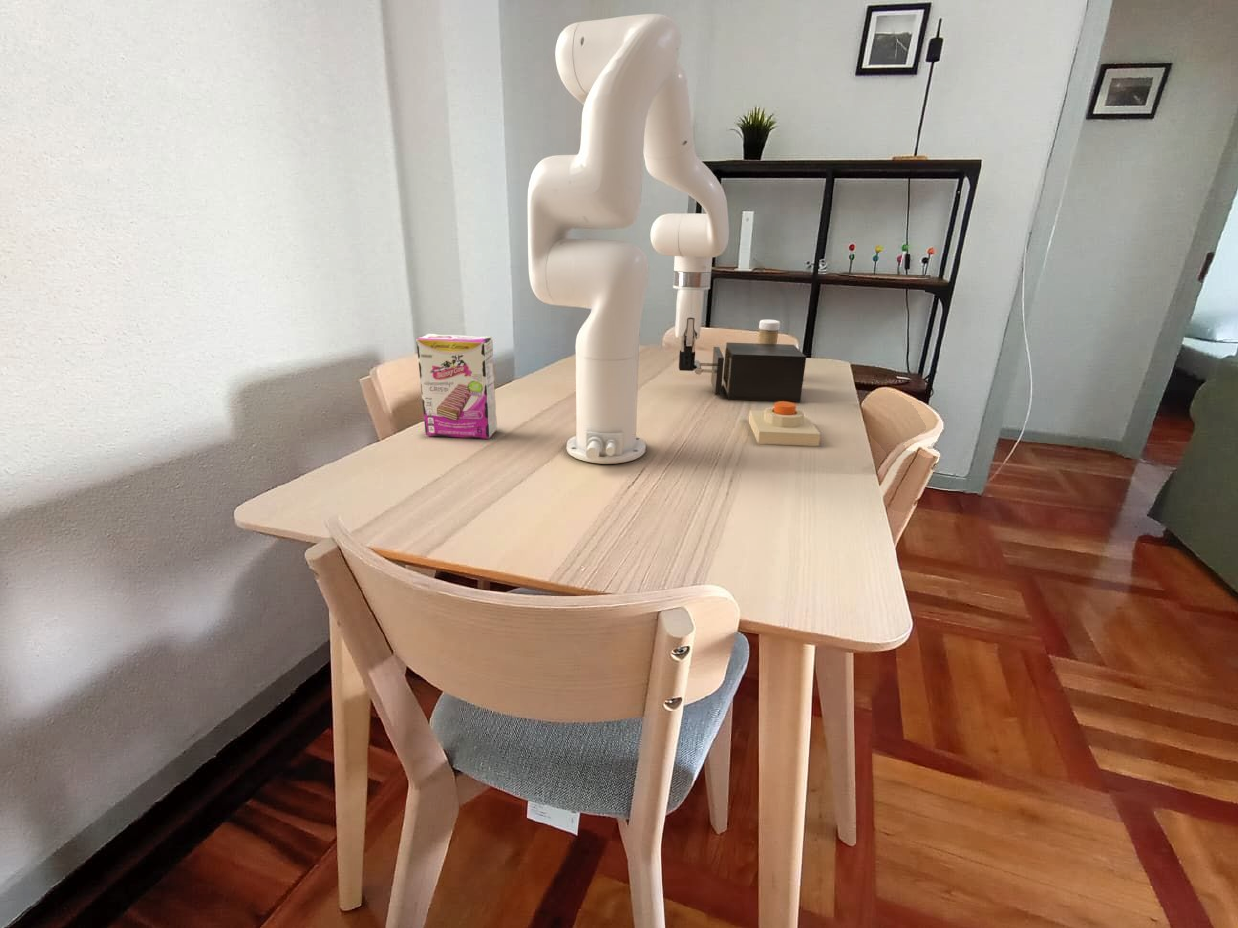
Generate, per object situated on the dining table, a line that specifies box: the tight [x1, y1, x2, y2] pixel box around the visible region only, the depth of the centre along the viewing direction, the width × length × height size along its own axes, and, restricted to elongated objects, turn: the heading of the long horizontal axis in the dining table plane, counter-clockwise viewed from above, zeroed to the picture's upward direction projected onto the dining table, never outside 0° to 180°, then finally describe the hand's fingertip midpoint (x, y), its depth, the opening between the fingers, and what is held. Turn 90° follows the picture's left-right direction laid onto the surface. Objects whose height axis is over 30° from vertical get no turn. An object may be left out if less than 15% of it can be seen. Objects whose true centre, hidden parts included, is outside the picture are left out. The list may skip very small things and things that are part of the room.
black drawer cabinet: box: [722, 342, 807, 404], centre depth 129 cm, size 15×13×10 cm
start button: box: [773, 401, 797, 415], centre depth 105 cm, size 4×4×2 cm
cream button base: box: [748, 406, 821, 447], centre depth 106 cm, size 12×10×4 cm
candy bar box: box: [415, 333, 498, 440], centre depth 100 cm, size 11×5×16 cm, turn 85°
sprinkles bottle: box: [757, 319, 781, 344], centre depth 141 cm, size 5×5×14 cm
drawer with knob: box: [693, 346, 732, 396], centre depth 130 cm, size 18×11×8 cm, turn 86°
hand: (686, 369), depth 130 cm, fingers closed
